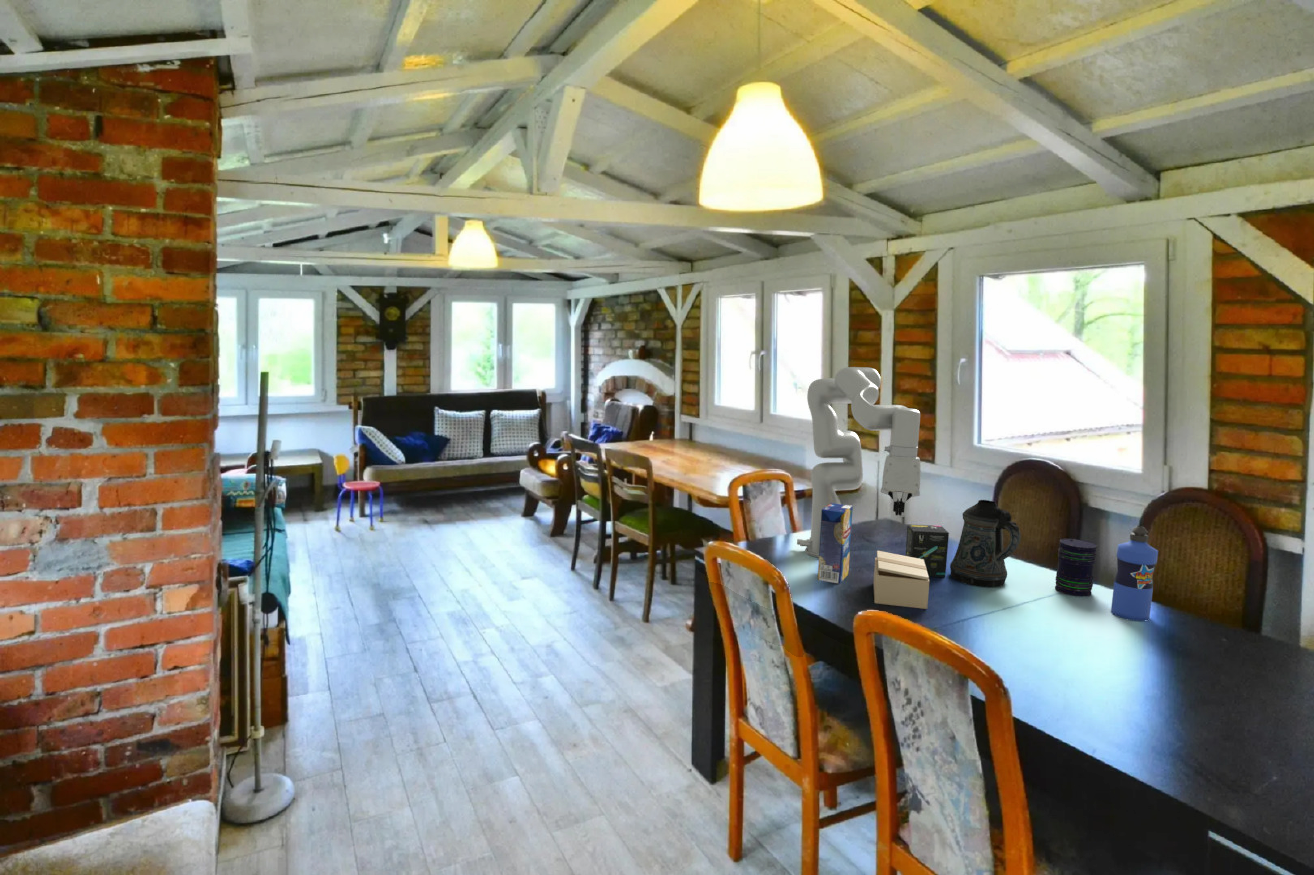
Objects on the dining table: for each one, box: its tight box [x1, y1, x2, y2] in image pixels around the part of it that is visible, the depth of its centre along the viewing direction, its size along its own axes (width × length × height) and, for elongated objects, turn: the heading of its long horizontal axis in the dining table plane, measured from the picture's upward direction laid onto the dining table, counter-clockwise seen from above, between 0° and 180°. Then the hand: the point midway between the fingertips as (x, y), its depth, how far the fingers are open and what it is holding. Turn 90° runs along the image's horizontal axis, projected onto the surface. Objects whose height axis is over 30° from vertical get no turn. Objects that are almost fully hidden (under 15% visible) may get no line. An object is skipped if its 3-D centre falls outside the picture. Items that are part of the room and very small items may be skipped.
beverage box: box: [817, 503, 854, 584], centre depth 231 cm, size 7×11×22 cm, turn 153°
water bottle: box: [1110, 525, 1159, 622], centre depth 205 cm, size 9×9×25 cm
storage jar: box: [1054, 538, 1098, 598], centre depth 224 cm, size 10×10×15 cm
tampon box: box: [905, 524, 950, 578], centre depth 239 cm, size 11×9×15 cm
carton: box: [873, 557, 930, 610], centre depth 217 cm, size 14×18×8 cm
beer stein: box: [949, 499, 1022, 588], centre depth 232 cm, size 16×19×25 cm
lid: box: [876, 550, 930, 581], centre depth 216 cm, size 13×18×1 cm
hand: (898, 514), depth 216 cm, fingers closed
